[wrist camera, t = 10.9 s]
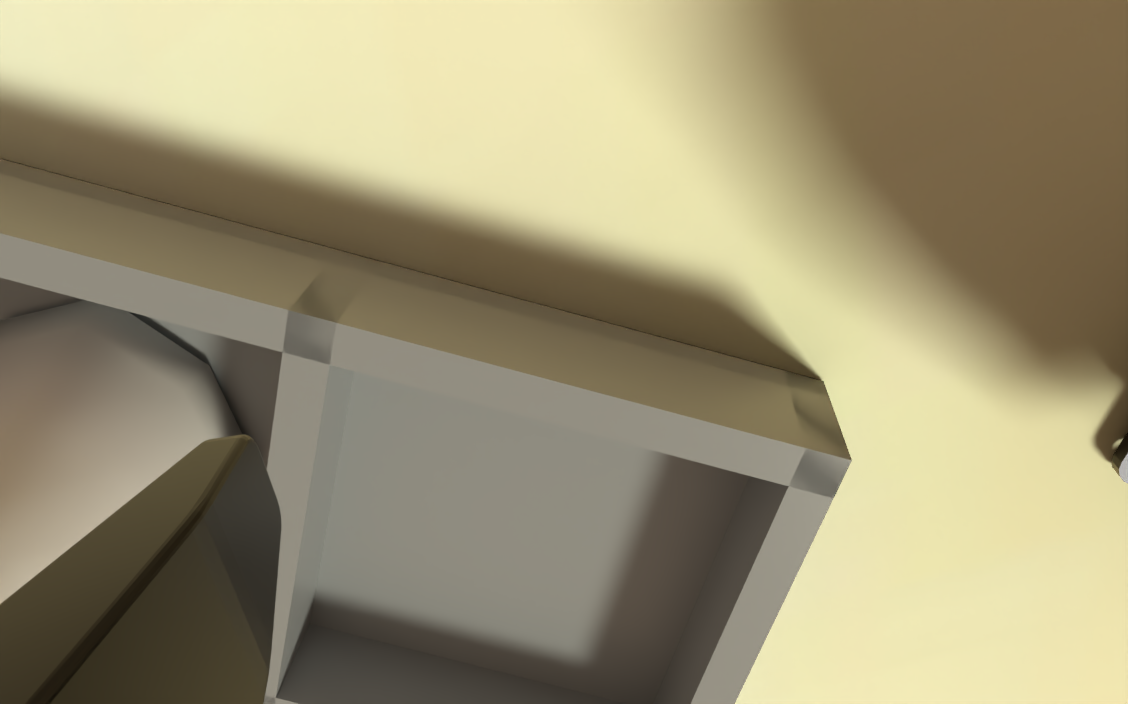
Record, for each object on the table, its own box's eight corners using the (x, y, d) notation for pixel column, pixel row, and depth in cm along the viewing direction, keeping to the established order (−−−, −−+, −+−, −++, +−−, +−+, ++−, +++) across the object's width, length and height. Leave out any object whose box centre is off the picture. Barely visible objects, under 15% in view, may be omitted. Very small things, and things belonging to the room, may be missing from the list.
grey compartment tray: (823, 381, 23) (851, 460, 19) (672, 719, 28) (676, 824, 25) (-126, 124, 22) (-257, 164, 18) (-93, 526, 27) (-190, 610, 24)
